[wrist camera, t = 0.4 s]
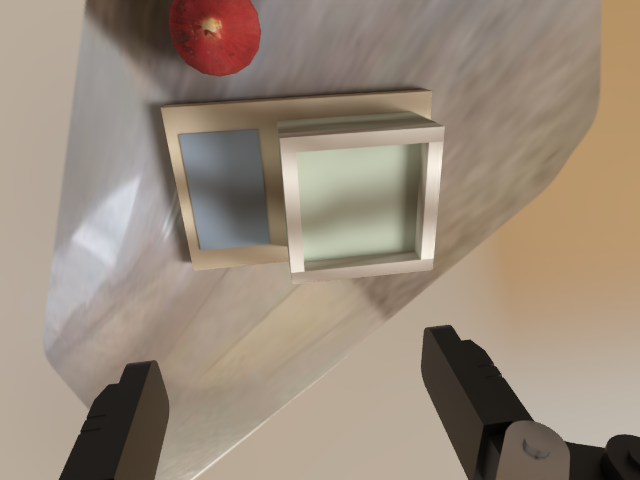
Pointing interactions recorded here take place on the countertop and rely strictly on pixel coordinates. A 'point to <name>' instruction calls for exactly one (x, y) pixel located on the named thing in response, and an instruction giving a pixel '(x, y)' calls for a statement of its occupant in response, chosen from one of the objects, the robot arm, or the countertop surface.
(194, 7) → the onion
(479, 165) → the countertop surface
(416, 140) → the tray with open box
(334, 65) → the countertop surface
